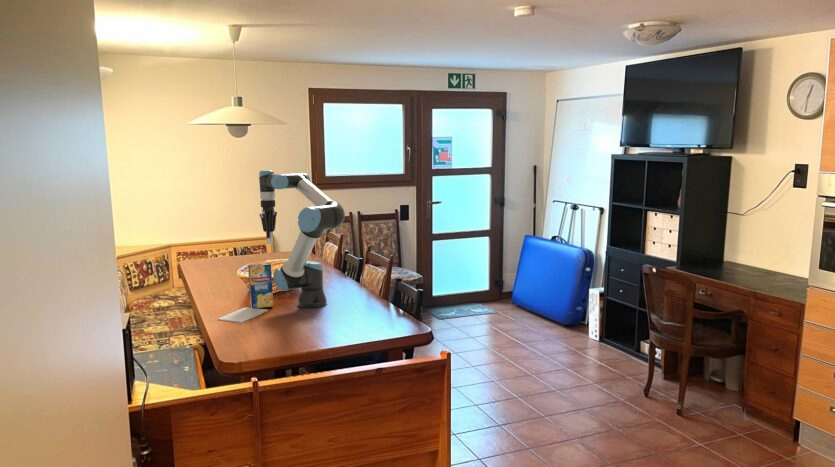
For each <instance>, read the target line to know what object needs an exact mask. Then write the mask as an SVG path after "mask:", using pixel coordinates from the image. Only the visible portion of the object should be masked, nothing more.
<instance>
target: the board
mask: <svg viewBox="0 0 835 467" xmlns="http://www.w3.org/2000/svg"><path fill="white" fill-rule="evenodd" d="M269 311H270V310H269V309H266V308H251V307H248V306H247V307H243V308H240V309H238V310H236V311H233V312H230V313H229V314H225V315H224V316H221V317H219V318H217V321H225V322H234V323H238V324H239V323H246V322H247V321H250V320H252V319H254V318H256V317H258V316H260V315H262V313H263V314H265V313H267V312H269Z"/></svg>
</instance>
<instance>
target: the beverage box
mask: <svg viewBox="0 0 835 467" xmlns="http://www.w3.org/2000/svg"><path fill="white" fill-rule="evenodd" d="M247 267H248V268H247V270H248V284H249V286H248V287H249V299H250V300H249V302H250V304H249V305H250V308H257V309H262V308H270V307H274V293H273V277H272V264H271V263H260V264H248V265H247Z"/></svg>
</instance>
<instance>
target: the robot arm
mask: <svg viewBox="0 0 835 467" xmlns="http://www.w3.org/2000/svg"><path fill="white" fill-rule="evenodd" d="M258 174H259V176H258V180H259V181H258V182H259V194H260V195H259V196H260V207H261V208H262V210H261V213H259V217H260V220H261V226H262V230H263V232H265V234H266V235H265V237H266V244H267V245H273V244H274V241H273V240H274V238H273V232H275V230H276V225H277V224H276V222H277V215H278V212H277V211H275V209H274V208H276V200H275V199H276V190H277V191H278V190H285V189H296V190H297V191H298V192H299V193H301V194H302V195H303V196H304V197H305V198H306V199H308V201H310V202H311V203H312V204H313V205H312V206H308V207H304V208H302V209H301V210H300V212H299V214H298V216H297V225H298V227H299V228H298V229H299V231H300V232H299V235H298V237H297V239H296V241H295V242H294V243H295V244H294V246H293V248H292V249H291V253H290V255H289V256H288V259H287V260H285V261H283V263H282V265H281V266H280V268H276V269H274V271H273V281H274V284H275V287H276V288H277V289H278V290H279V291H281V292H282V291H283V292H284V291H290V290H295V289H300V293H299V296H298V299H297V305H298V307H300V308H305V309H306V308H307V309H308V308H310V309H312V308H314V309H315V308H321V307H324V306H326V305H327V303H328V302H327V301H328V300H327V298H326V297H327V296H326V294H325V291H324V274H323V273H324V269H323V264H322V263H321V262H319V261H318V262H317V261H312V260H308V259H309V257H310V255H311V253H312V251H313V248H314V247H315V244H316V242H317V240H318V239H320V238H321V237H322V236H323V235H324V233H325V231H328V230H329V231H330V230H335V229H337V228H339V227H340V226H341V225H342V224H343V223H344V221H345V214H346V213H345V210H344V208H343V206H342V205H341V204H340V203H339V202H338V200H335V199H331V198H330V197H329V196H328V195H326V193H324V192H323V191H322V190H321V189H319V187H317V186H316V185H315V184H314V183H312V182H311V177H310V176H309V174H308V173H303V172H300V173H282V174H281V173H279V174H276V173H275V171H274V170H272V169H271V170H270V169H269V170H267V169H266V170H260V171H259V172H258Z"/></svg>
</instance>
